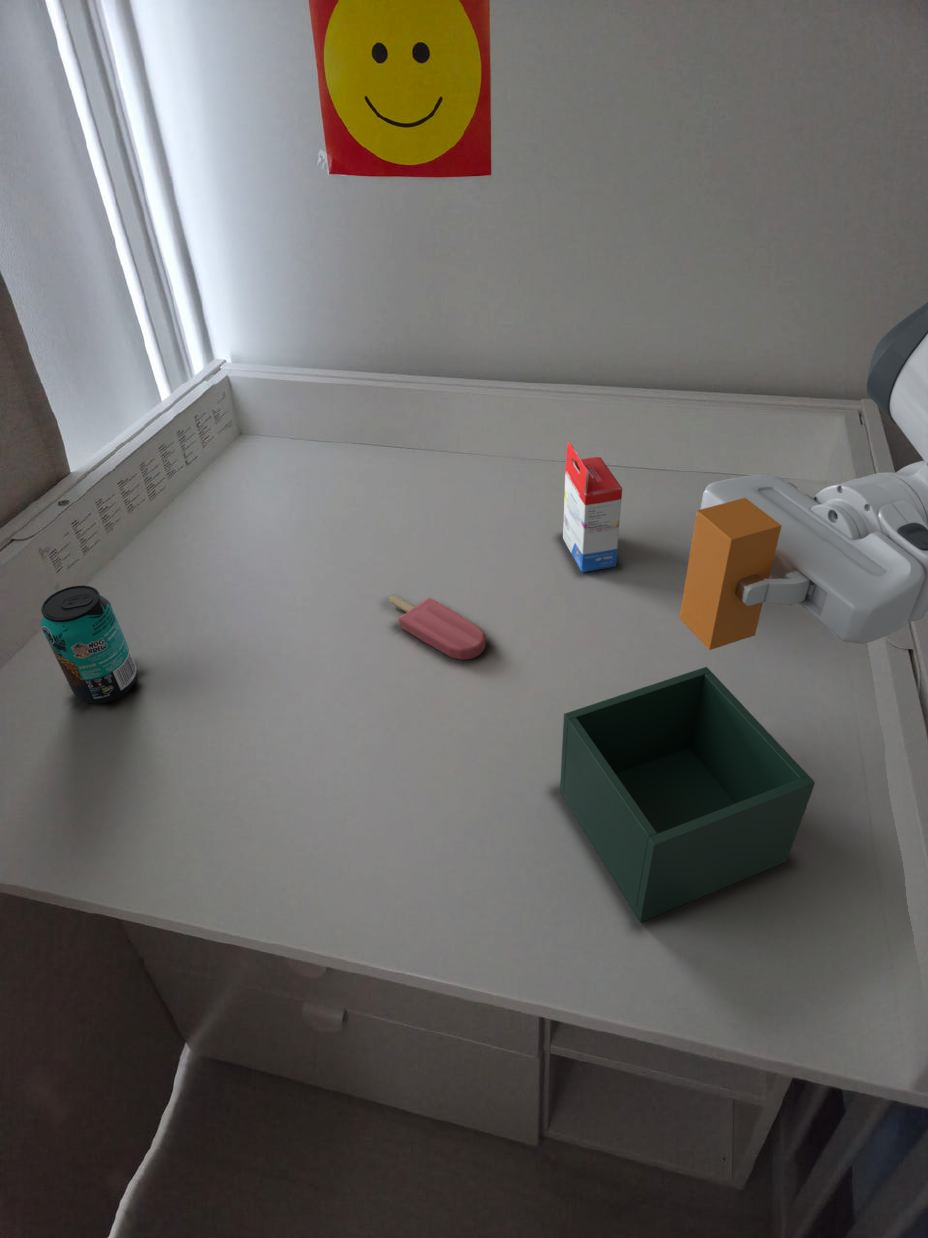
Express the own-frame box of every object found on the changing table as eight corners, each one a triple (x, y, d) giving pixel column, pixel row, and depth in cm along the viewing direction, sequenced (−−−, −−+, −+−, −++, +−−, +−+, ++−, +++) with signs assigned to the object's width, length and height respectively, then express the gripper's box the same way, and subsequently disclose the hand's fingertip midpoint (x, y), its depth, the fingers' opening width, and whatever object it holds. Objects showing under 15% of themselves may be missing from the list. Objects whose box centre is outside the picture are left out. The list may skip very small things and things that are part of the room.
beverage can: (77, 671, 93) (38, 589, 86) (140, 658, 95) (107, 575, 87) (72, 713, 88) (30, 629, 80) (139, 699, 89) (103, 615, 82)
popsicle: (405, 582, 101) (495, 633, 93) (406, 592, 102) (495, 644, 94) (373, 602, 98) (463, 657, 90) (375, 612, 99) (463, 667, 91)
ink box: (617, 568, 104) (626, 466, 95) (580, 574, 104) (586, 472, 94) (595, 532, 111) (602, 434, 101) (560, 537, 110) (564, 439, 101)
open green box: (786, 861, 71) (815, 782, 64) (640, 922, 67) (654, 845, 60) (690, 745, 81) (706, 666, 74) (559, 792, 77) (563, 713, 70)
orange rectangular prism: (755, 635, 68) (782, 525, 61) (709, 650, 67) (731, 539, 60) (723, 605, 71) (745, 497, 64) (679, 618, 70) (696, 510, 63)
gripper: (784, 446, 74) (653, 479, 71) (968, 565, 59) (813, 615, 56) (771, 505, 78) (646, 540, 75) (939, 630, 63) (793, 681, 60)
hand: (719, 573), depth 65 cm, fingers closed on orange rectangular prism, 4 cm apart
